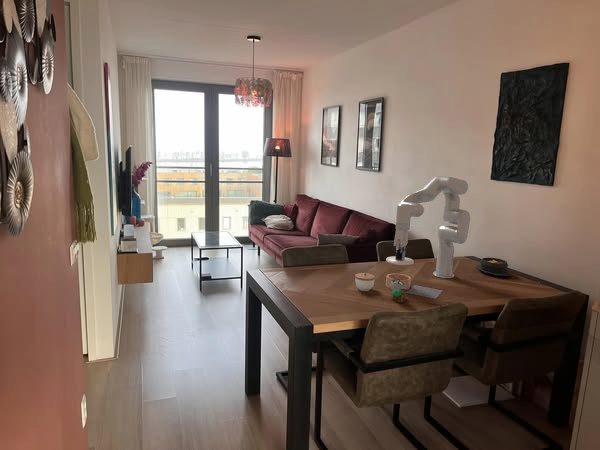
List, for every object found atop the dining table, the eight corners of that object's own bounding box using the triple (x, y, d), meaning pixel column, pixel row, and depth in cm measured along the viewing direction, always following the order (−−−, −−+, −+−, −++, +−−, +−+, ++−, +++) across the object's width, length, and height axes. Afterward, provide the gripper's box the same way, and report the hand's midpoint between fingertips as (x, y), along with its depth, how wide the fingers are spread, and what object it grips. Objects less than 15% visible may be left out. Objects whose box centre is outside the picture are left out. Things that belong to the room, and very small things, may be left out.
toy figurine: (386, 295, 229) (388, 277, 227) (398, 296, 230) (399, 277, 228) (393, 304, 217) (395, 285, 215) (405, 304, 217) (407, 285, 216)
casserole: (518, 278, 270) (520, 265, 269) (492, 279, 266) (494, 266, 265) (492, 267, 294) (494, 255, 293) (468, 267, 290) (469, 255, 289)
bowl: (390, 282, 253) (391, 272, 252) (412, 286, 246) (413, 276, 245) (382, 287, 242) (383, 277, 241) (405, 292, 235) (406, 282, 234)
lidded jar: (373, 293, 232) (374, 276, 230) (353, 291, 234) (354, 274, 232) (374, 287, 242) (375, 271, 241) (355, 285, 245) (356, 269, 243)
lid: (391, 256, 251) (392, 246, 250) (417, 261, 244) (417, 250, 243) (382, 262, 239) (383, 251, 238) (409, 266, 231) (409, 255, 230)
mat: (414, 285, 247) (414, 284, 247) (442, 291, 239) (443, 290, 239) (405, 293, 234) (405, 292, 234) (435, 299, 226) (435, 298, 226)
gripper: (400, 223, 247) (398, 254, 250) (391, 227, 232) (388, 260, 236) (413, 225, 243) (411, 256, 246) (404, 229, 229) (401, 262, 232)
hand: (400, 258), depth 241 cm, fingers closed on lid, 4 cm apart
